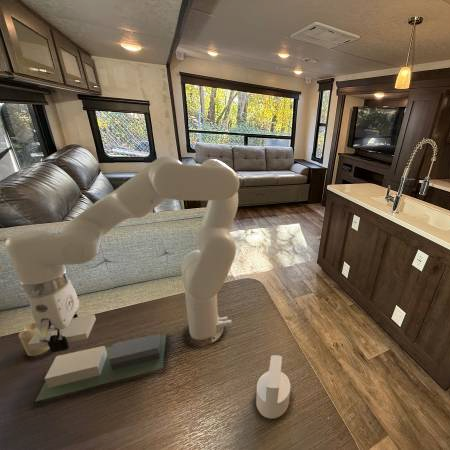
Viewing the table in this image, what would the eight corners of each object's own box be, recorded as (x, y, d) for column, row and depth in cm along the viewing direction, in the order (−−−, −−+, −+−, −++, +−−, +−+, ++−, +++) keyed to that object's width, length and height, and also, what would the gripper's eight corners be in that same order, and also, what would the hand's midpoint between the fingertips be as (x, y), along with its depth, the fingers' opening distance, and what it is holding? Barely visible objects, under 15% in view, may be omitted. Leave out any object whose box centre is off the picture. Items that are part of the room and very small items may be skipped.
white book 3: (107, 354, 74) (106, 349, 74) (100, 375, 68) (98, 370, 68) (60, 364, 70) (58, 360, 69) (48, 388, 64) (46, 383, 63)
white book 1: (96, 319, 69) (94, 314, 68) (87, 338, 63) (85, 333, 62) (44, 328, 64) (42, 323, 64) (29, 350, 59) (27, 344, 58)
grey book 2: (161, 343, 79) (160, 338, 78) (159, 358, 75) (158, 353, 74) (116, 353, 75) (115, 348, 74) (111, 370, 70) (110, 364, 69)
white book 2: (106, 349, 74) (104, 345, 73) (98, 370, 68) (97, 366, 67) (58, 360, 69) (56, 356, 69) (46, 383, 63) (44, 379, 63)
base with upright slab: (259, 382, 72) (260, 353, 67) (290, 385, 72) (293, 356, 67) (253, 416, 64) (253, 386, 59) (287, 420, 64) (291, 389, 59)
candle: (38, 361, 72) (26, 336, 68) (23, 356, 73) (11, 331, 69) (59, 346, 77) (49, 321, 73) (44, 342, 78) (34, 317, 74)
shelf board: (166, 337, 83) (165, 334, 83) (163, 371, 72) (162, 368, 72) (59, 361, 73) (58, 357, 72) (36, 405, 62) (34, 401, 61)
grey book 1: (160, 338, 78) (159, 333, 78) (158, 353, 74) (157, 347, 73) (115, 348, 74) (113, 343, 73) (110, 364, 69) (108, 359, 68)
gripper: (50, 303, 52) (72, 362, 58) (80, 260, 66) (95, 312, 73) (0, 310, 49) (30, 371, 56) (43, 264, 63) (62, 317, 70)
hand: (66, 337), depth 64 cm, fingers closed on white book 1, 7 cm apart
